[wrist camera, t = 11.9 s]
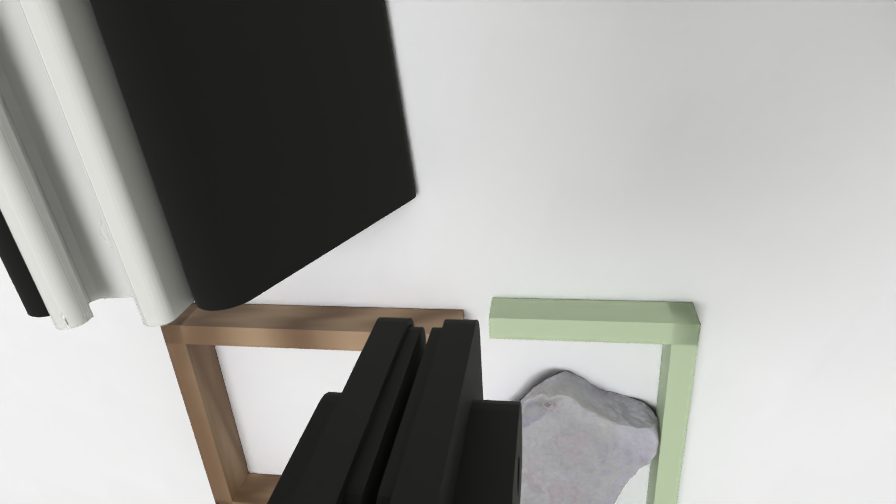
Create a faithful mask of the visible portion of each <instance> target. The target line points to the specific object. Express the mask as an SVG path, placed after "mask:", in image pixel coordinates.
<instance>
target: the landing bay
mask: <svg viewBox="0 0 896 504" xmlns="http://www.w3.org/2000/svg"><path fill="white" fill-rule="evenodd" d="M700 325H701V324H700V321H699V319H698V316H697V313H696V311H695V308H694V305H693V303H692V302H652V301H609V300H567V299H524V298H492V304H491V309H490V315H489V332H490V338H497V339H527V340H556V341H585V342H614V343H643V344H663V349H662V359H661V368H660V378H659V388H658V397H657V407H656V417H657V420H658V441H659V444H658V448H657V452H656V455H655V456H654V458H653V459H652V461H651V465H650V475H649V484H648V494H647V504H677V498H678V491H679V483H680V476H681V468H682V461H683V453H684V446H685V438H686V431H687V423H688V415H689V408H690V400H691V393H692V385H693V378H694V370H695V363H696V355H697V348H698V340H699V333H700Z"/></svg>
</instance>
